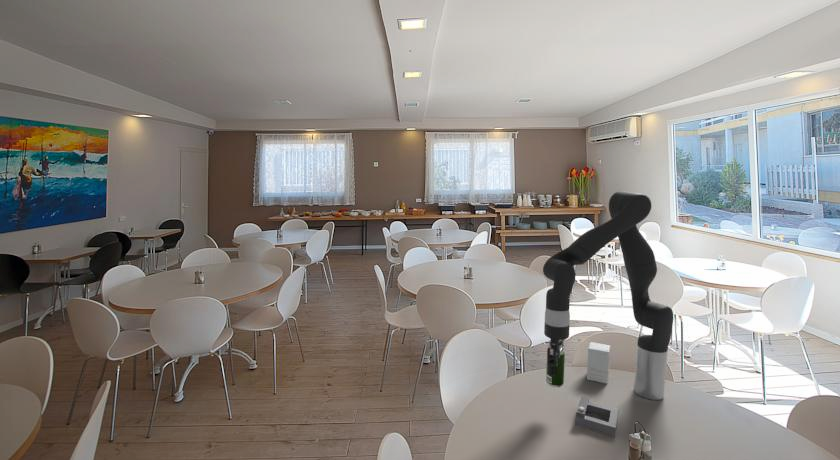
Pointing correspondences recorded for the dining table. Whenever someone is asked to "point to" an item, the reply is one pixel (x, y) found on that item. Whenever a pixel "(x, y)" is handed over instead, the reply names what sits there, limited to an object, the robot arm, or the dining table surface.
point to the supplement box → (598, 362)
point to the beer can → (559, 378)
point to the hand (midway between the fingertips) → (555, 371)
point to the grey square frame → (594, 423)
